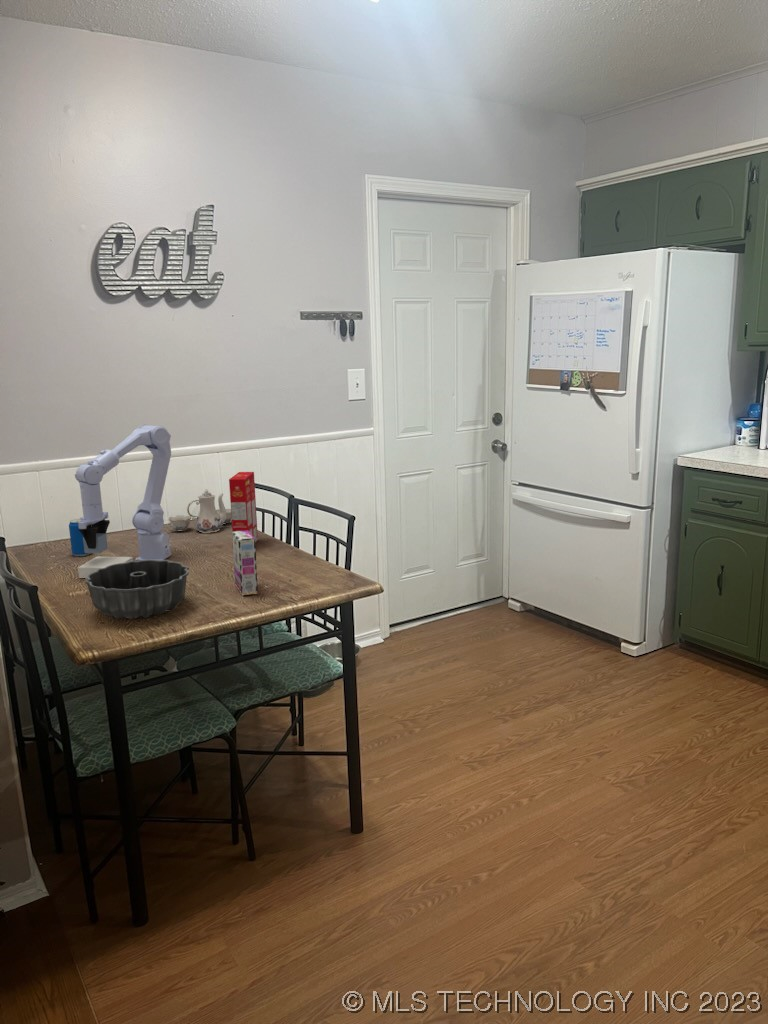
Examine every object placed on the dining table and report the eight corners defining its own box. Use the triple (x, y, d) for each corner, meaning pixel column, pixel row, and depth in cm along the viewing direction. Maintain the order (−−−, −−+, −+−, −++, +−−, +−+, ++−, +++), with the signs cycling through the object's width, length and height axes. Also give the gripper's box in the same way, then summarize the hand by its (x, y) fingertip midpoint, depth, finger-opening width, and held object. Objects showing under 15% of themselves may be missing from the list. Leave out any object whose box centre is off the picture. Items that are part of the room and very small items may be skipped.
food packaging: (243, 540, 271) (239, 471, 265) (257, 540, 271) (253, 471, 265) (233, 551, 257) (229, 479, 251) (249, 551, 256) (244, 479, 251)
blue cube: (107, 548, 237) (106, 533, 236) (99, 553, 232) (97, 537, 231) (92, 548, 238) (91, 533, 237) (84, 553, 233) (82, 537, 232)
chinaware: (229, 523, 304) (224, 483, 301) (249, 526, 291) (245, 484, 288) (163, 536, 286) (157, 493, 284) (182, 539, 273) (176, 494, 271)
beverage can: (96, 552, 259) (92, 518, 257) (86, 557, 253) (83, 522, 250) (78, 551, 260) (74, 518, 257) (68, 557, 254) (64, 522, 251)
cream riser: (134, 569, 240) (132, 557, 239) (116, 580, 228) (115, 568, 227) (98, 568, 241) (97, 556, 241) (79, 580, 230) (77, 567, 229)
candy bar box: (259, 594, 212) (255, 538, 208) (241, 596, 210) (237, 540, 207) (251, 583, 222) (248, 529, 219) (234, 585, 220) (231, 531, 217)
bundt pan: (211, 605, 204) (208, 570, 201) (122, 634, 185) (118, 595, 182) (158, 586, 221) (155, 554, 219) (71, 611, 202) (67, 575, 200)
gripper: (91, 498, 239) (96, 539, 242) (67, 508, 225) (72, 552, 228) (112, 498, 238) (116, 540, 241) (89, 508, 224) (93, 552, 227)
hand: (96, 545), depth 235 cm, fingers closed on blue cube, 5 cm apart
